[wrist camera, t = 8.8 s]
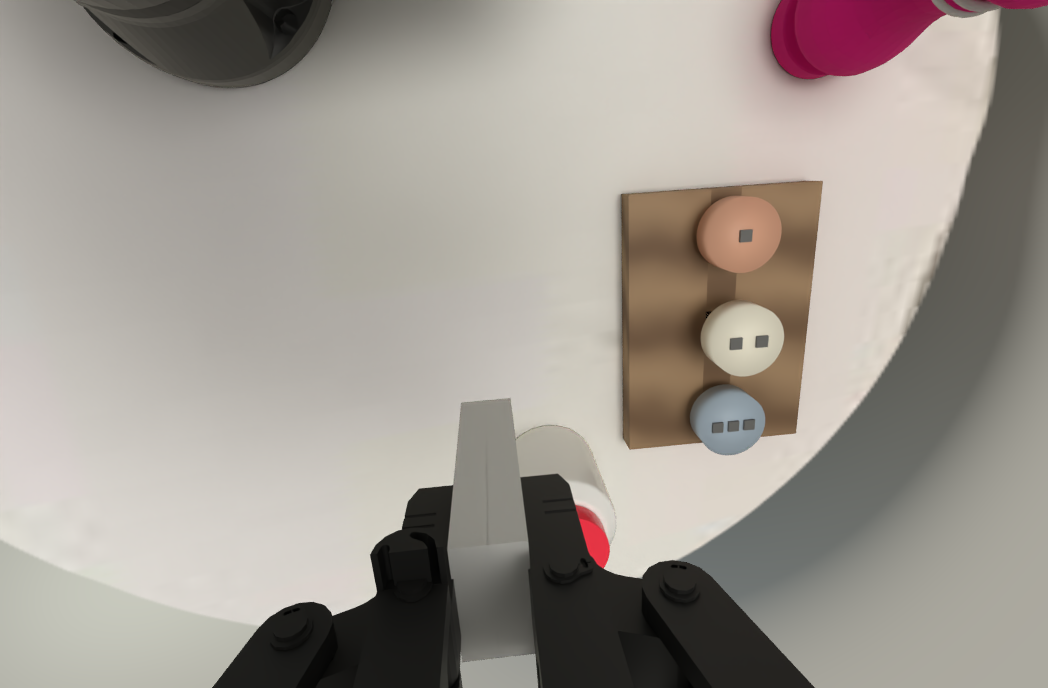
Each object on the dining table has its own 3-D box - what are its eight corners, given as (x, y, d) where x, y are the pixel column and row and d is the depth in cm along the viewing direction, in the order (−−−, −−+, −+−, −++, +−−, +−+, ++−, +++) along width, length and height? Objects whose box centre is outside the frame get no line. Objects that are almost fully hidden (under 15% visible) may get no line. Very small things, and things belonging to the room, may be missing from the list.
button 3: (680, 377, 42) (702, 399, 38) (740, 371, 42) (769, 392, 38) (678, 432, 43) (699, 459, 39) (736, 426, 44) (763, 453, 39)
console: (621, 194, 38) (628, 194, 36) (806, 180, 39) (822, 181, 37) (623, 437, 44) (629, 449, 42) (782, 422, 45) (795, 433, 43)
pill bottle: (608, 476, 45) (646, 566, 35) (533, 518, 46) (547, 619, 35) (565, 408, 43) (592, 482, 32) (486, 454, 44) (487, 540, 33)
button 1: (685, 197, 37) (711, 199, 33) (752, 192, 38) (786, 194, 34) (683, 266, 39) (707, 276, 35) (748, 261, 39) (779, 270, 35)
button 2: (690, 295, 38) (715, 310, 34) (755, 290, 39) (788, 304, 34) (687, 359, 40) (711, 380, 36) (751, 353, 40) (782, 374, 36)
